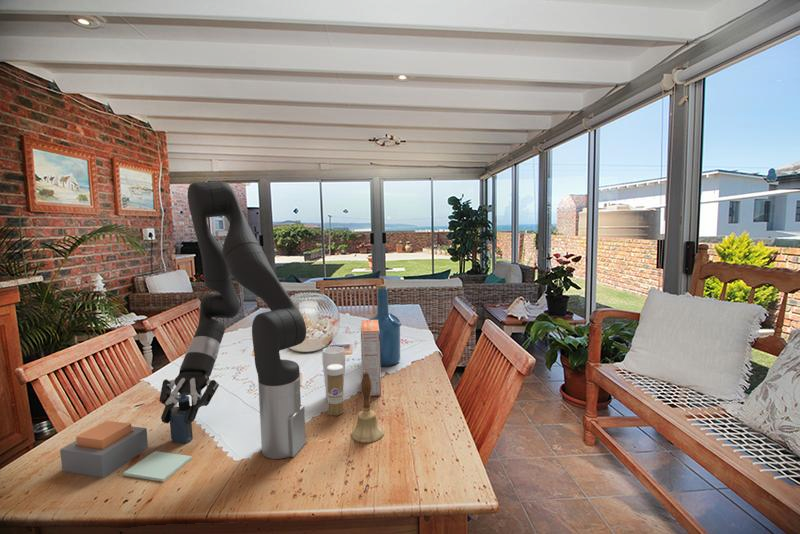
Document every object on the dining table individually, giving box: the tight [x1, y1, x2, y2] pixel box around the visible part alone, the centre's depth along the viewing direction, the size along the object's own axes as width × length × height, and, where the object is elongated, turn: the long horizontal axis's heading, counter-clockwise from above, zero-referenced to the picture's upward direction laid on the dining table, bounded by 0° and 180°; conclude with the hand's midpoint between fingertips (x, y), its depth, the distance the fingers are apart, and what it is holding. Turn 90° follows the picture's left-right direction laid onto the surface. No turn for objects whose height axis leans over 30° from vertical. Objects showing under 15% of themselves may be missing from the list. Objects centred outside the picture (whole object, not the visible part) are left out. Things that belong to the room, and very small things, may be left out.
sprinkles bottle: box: [327, 364, 345, 416], centre depth 107 cm, size 5×5×13 cm
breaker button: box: [75, 420, 132, 450], centre depth 86 cm, size 7×7×3 cm
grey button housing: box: [59, 425, 149, 478], centre depth 86 cm, size 11×11×5 cm
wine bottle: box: [368, 284, 402, 367], centre depth 146 cm, size 14×13×30 cm
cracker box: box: [360, 319, 382, 397], centre depth 123 cm, size 14×6×21 cm, turn 5°
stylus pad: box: [123, 450, 193, 483], centre depth 84 cm, size 10×8×1 cm
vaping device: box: [169, 394, 194, 444], centre depth 93 cm, size 3×5×12 cm, turn 79°
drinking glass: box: [321, 346, 346, 399], centre depth 116 cm, size 7×7×15 cm
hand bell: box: [350, 372, 385, 444], centre depth 96 cm, size 8×8×16 cm
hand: (176, 422), depth 92 cm, fingers closed on vaping device, 5 cm apart
